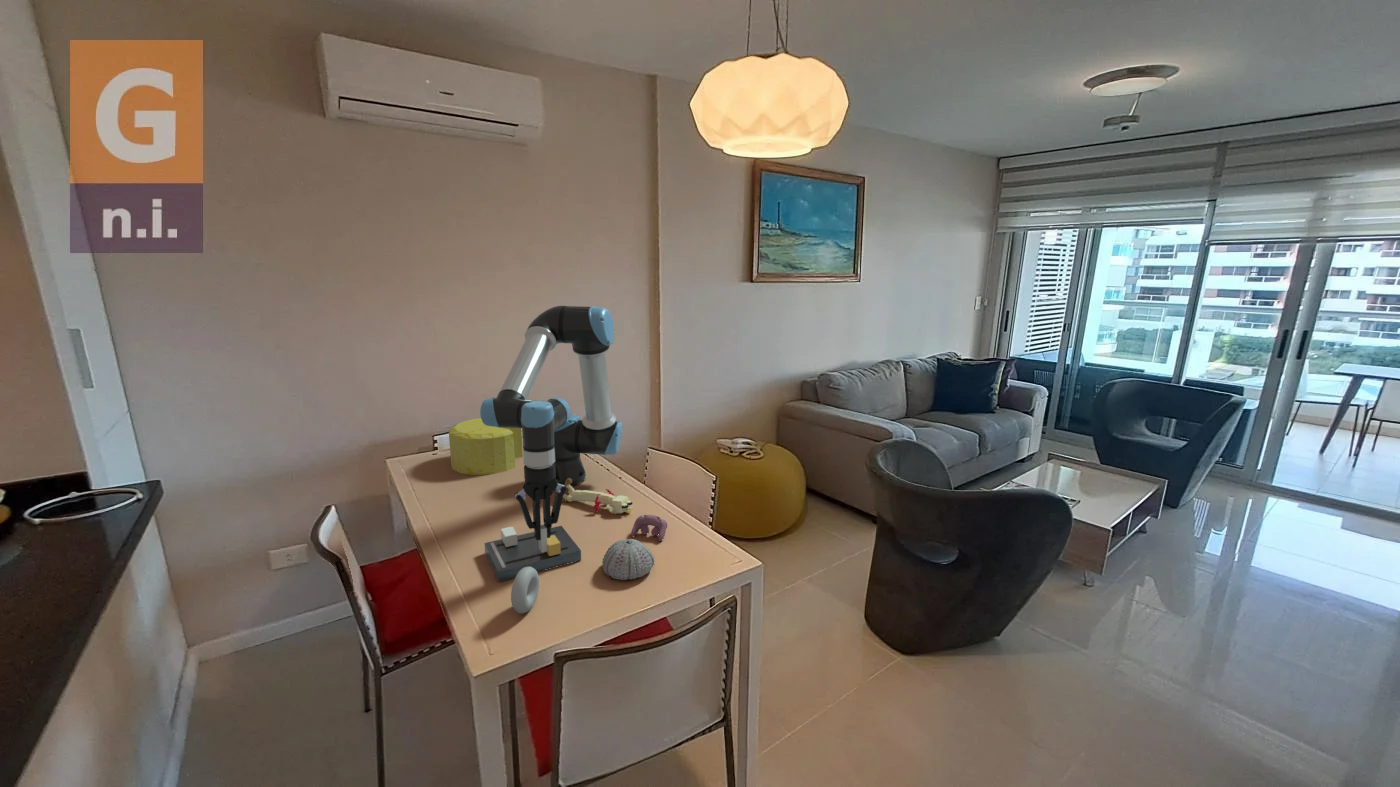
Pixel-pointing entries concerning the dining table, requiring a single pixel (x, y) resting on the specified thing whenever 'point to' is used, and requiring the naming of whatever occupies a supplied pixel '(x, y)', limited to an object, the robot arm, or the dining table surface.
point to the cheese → (483, 447)
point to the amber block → (553, 546)
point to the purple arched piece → (651, 520)
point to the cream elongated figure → (598, 499)
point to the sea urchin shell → (627, 560)
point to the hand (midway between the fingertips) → (543, 549)
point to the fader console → (529, 554)
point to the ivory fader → (509, 536)
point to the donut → (525, 590)
